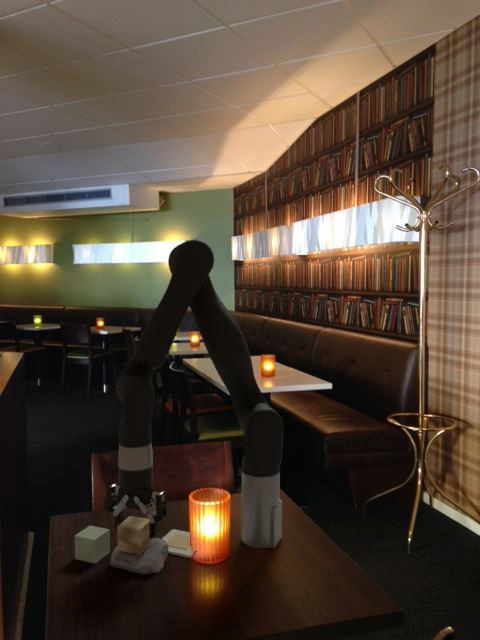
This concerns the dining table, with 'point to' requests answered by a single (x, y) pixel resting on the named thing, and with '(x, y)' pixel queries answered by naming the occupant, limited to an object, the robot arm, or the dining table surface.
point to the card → (179, 543)
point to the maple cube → (133, 535)
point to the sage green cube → (92, 544)
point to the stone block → (142, 558)
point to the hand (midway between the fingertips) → (136, 534)
